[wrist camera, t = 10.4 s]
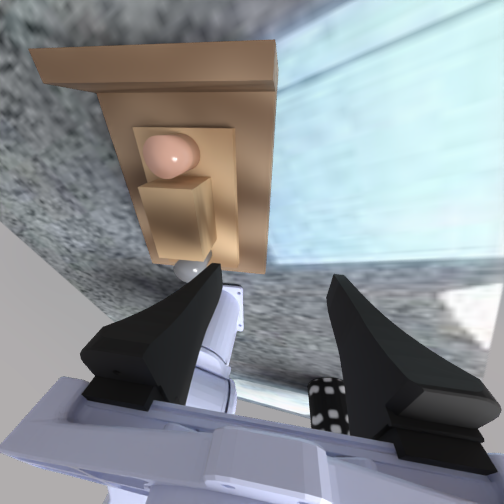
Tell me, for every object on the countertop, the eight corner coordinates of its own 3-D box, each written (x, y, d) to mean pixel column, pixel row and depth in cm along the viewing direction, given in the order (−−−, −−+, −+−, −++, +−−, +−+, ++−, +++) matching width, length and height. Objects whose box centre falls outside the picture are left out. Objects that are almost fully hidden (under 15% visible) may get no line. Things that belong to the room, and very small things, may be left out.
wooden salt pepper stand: (239, 262, 22) (228, 294, 18) (173, 256, 23) (148, 285, 19) (235, 128, 15) (216, 128, 11) (140, 127, 16) (89, 126, 12)
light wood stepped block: (266, 264, 24) (261, 299, 19) (161, 254, 26) (131, 285, 21) (278, 69, 14) (275, 39, 9) (107, 73, 16) (28, 48, 11)
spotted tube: (352, 398, 39) (403, 597, 23) (310, 397, 42) (328, 577, 25) (351, 377, 35) (410, 600, 19) (304, 377, 38) (320, 576, 21)
